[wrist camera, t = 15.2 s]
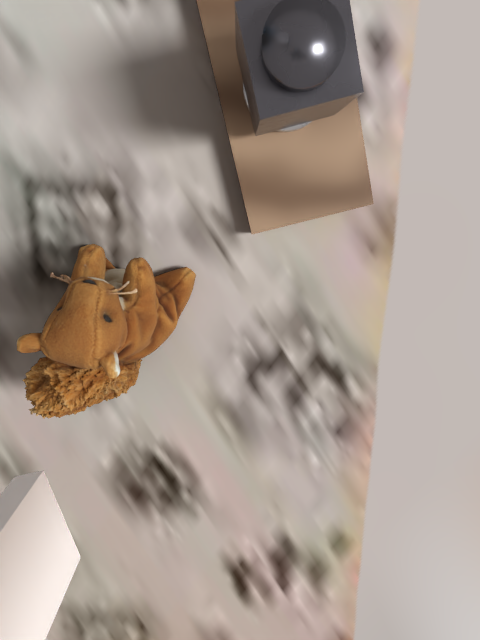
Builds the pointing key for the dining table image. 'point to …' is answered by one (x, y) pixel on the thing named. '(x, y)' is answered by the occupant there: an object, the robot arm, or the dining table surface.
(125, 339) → the stuffed squirrel
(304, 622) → the dining table surface
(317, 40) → the grey cube with knob
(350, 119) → the block
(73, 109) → the dining table surface
